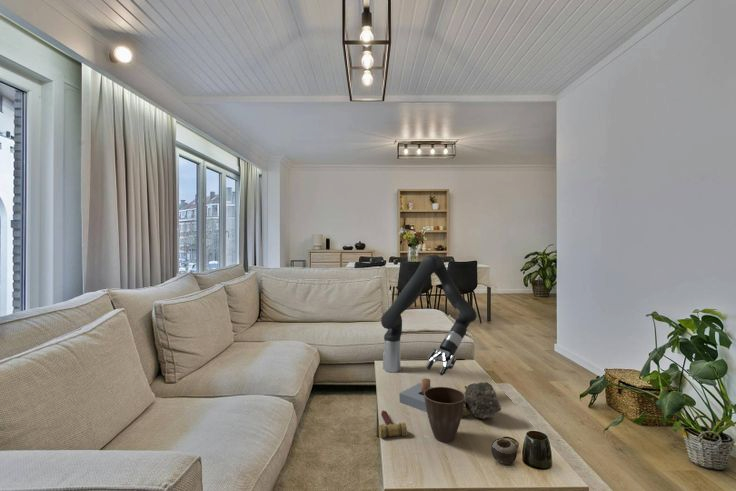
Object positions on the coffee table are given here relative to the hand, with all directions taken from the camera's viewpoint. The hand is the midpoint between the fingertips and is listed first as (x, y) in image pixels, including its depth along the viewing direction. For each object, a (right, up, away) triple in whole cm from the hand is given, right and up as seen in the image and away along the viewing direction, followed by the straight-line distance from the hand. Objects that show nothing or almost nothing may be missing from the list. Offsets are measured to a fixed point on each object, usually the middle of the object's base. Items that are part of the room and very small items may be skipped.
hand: (434, 371), depth 169 cm
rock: (+14, -13, -16) cm, 25 cm away
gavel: (-23, -14, -23) cm, 35 cm away
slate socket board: (-4, -13, -3) cm, 14 cm away
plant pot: (-2, -13, -33) cm, 35 cm away
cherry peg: (-4, -13, -3) cm, 14 cm away
